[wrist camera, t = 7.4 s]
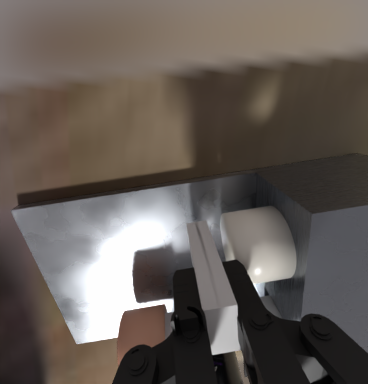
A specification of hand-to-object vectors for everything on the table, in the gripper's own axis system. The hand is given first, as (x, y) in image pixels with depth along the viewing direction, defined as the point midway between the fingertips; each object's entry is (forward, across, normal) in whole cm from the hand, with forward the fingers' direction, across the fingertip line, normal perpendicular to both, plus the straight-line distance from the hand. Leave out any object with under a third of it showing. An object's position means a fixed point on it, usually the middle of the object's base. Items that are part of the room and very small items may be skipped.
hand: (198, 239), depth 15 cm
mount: (+3, 0, -3) cm, 4 cm away
